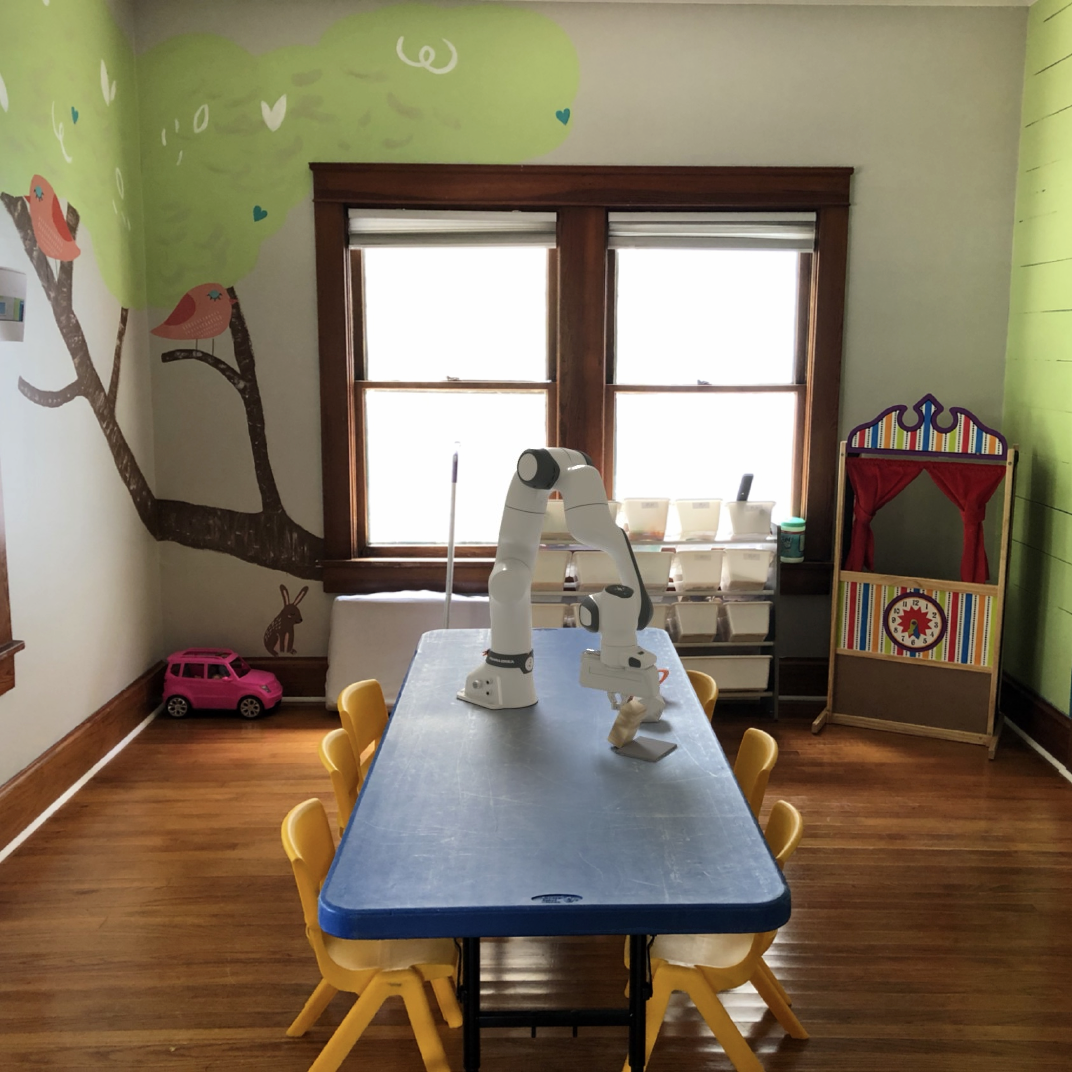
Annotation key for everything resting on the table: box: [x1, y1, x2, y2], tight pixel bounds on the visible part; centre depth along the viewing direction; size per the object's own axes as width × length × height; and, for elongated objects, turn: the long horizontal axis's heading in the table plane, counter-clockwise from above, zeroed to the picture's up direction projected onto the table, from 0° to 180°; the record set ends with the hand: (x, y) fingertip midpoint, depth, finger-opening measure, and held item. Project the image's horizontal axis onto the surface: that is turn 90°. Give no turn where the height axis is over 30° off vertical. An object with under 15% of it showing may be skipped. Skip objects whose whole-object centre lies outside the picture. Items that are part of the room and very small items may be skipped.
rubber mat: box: [615, 735, 678, 763], centre depth 248 cm, size 10×12×1 cm
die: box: [632, 691, 667, 723], centre depth 268 cm, size 8×9×10 cm
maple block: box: [606, 699, 647, 749], centre depth 250 cm, size 4×6×10 cm, turn 149°
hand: (618, 710), depth 251 cm, fingers closed
